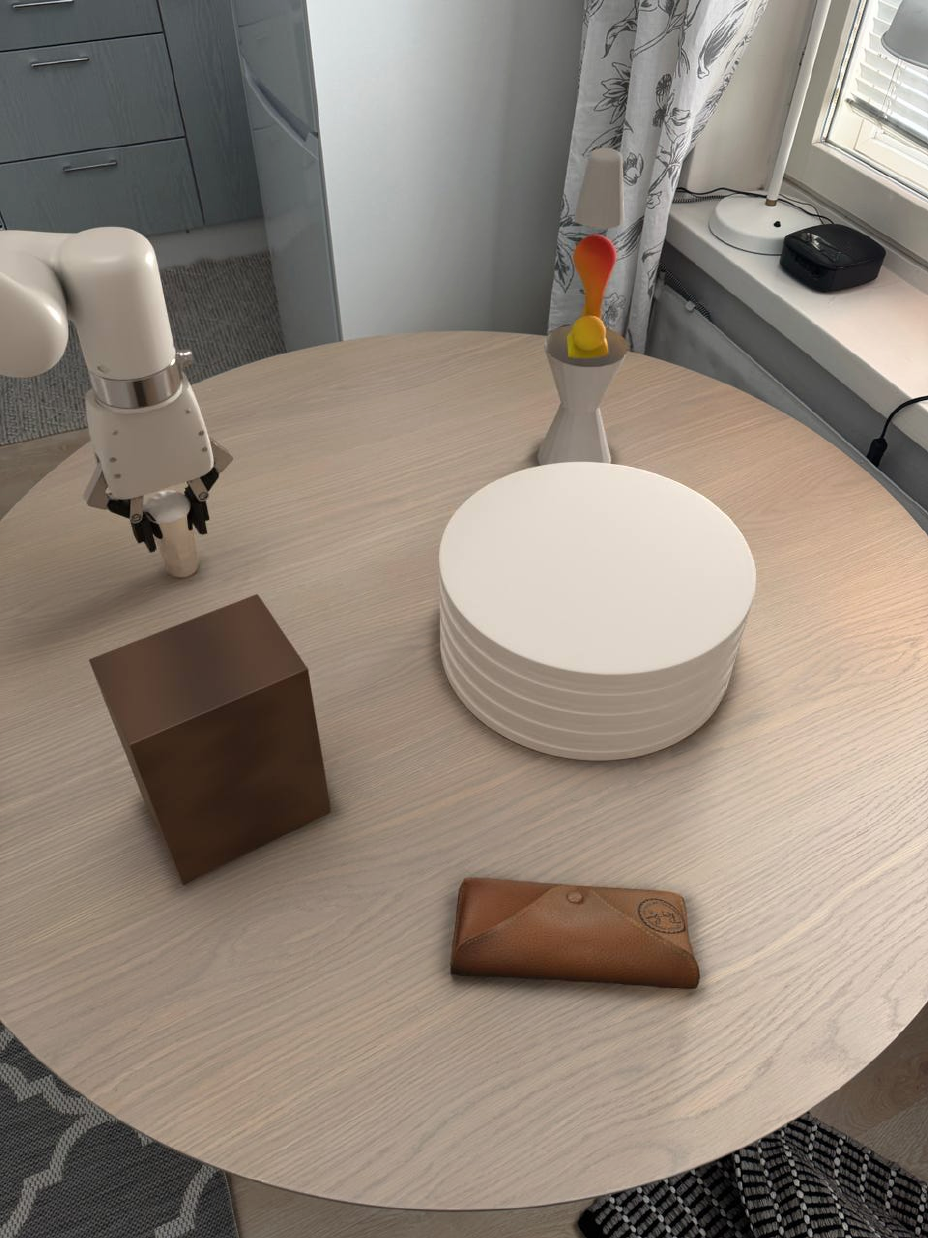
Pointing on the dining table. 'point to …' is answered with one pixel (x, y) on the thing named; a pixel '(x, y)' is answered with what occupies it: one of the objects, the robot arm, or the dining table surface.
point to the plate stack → (592, 608)
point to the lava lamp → (588, 325)
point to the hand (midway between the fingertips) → (173, 533)
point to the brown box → (218, 733)
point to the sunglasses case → (572, 934)
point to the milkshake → (173, 531)
